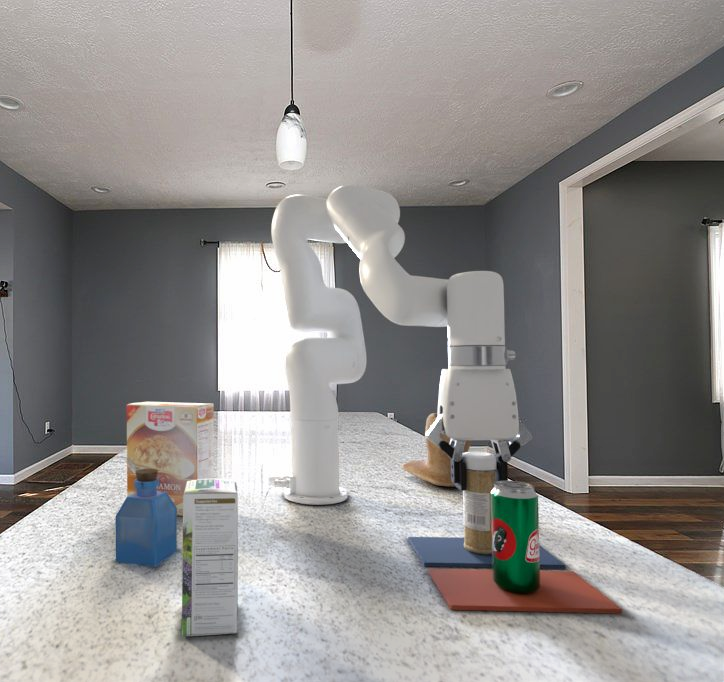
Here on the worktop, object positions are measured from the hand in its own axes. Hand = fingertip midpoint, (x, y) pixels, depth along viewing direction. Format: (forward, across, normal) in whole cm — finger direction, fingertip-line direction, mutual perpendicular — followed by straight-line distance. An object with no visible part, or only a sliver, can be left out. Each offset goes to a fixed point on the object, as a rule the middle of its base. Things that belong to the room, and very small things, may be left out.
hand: (479, 486), depth 75 cm
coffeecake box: (+9, +49, -20) cm, 54 cm away
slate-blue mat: (+9, 0, 0) cm, 9 cm away
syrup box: (+9, +35, +21) cm, 42 cm away
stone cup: (+9, -6, -42) cm, 43 cm away
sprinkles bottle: (+9, 0, 0) cm, 9 cm away
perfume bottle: (+9, +47, +3) cm, 48 cm away
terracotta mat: (+9, 0, +12) cm, 15 cm away
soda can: (+9, 0, +12) cm, 15 cm away
